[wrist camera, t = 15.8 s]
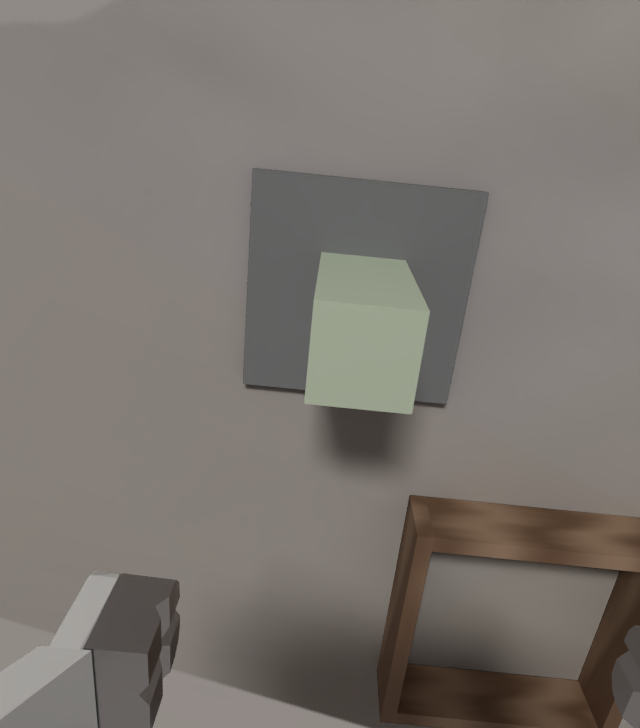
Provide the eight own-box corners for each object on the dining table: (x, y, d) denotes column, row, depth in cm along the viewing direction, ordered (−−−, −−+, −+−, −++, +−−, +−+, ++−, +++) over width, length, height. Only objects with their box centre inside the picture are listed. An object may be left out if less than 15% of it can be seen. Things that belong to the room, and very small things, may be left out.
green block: (405, 260, 30) (430, 311, 22) (393, 339, 32) (411, 414, 24) (321, 251, 30) (313, 299, 22) (313, 331, 32) (304, 403, 24)
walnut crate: (656, 519, 37) (691, 563, 33) (587, 691, 43) (610, 744, 39) (409, 495, 37) (417, 536, 33) (376, 670, 43) (380, 721, 39)
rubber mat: (486, 191, 29) (489, 192, 29) (444, 399, 34) (446, 404, 33) (254, 168, 29) (252, 168, 29) (244, 379, 34) (242, 383, 33)
